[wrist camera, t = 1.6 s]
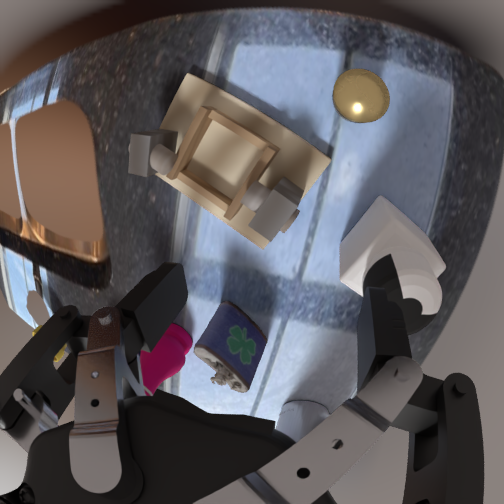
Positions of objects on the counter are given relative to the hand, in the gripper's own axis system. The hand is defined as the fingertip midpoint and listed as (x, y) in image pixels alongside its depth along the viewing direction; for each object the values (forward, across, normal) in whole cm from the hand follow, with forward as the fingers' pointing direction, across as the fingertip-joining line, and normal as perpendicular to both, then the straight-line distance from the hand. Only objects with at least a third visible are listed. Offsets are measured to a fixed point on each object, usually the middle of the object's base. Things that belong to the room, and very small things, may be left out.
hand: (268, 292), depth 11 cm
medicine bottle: (+18, -9, +5) cm, 20 cm away
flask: (+18, +7, +20) cm, 27 cm away
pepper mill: (+18, +20, +26) cm, 37 cm away
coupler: (+18, -4, -9) cm, 20 cm away
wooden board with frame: (+18, +8, -3) cm, 20 cm away
